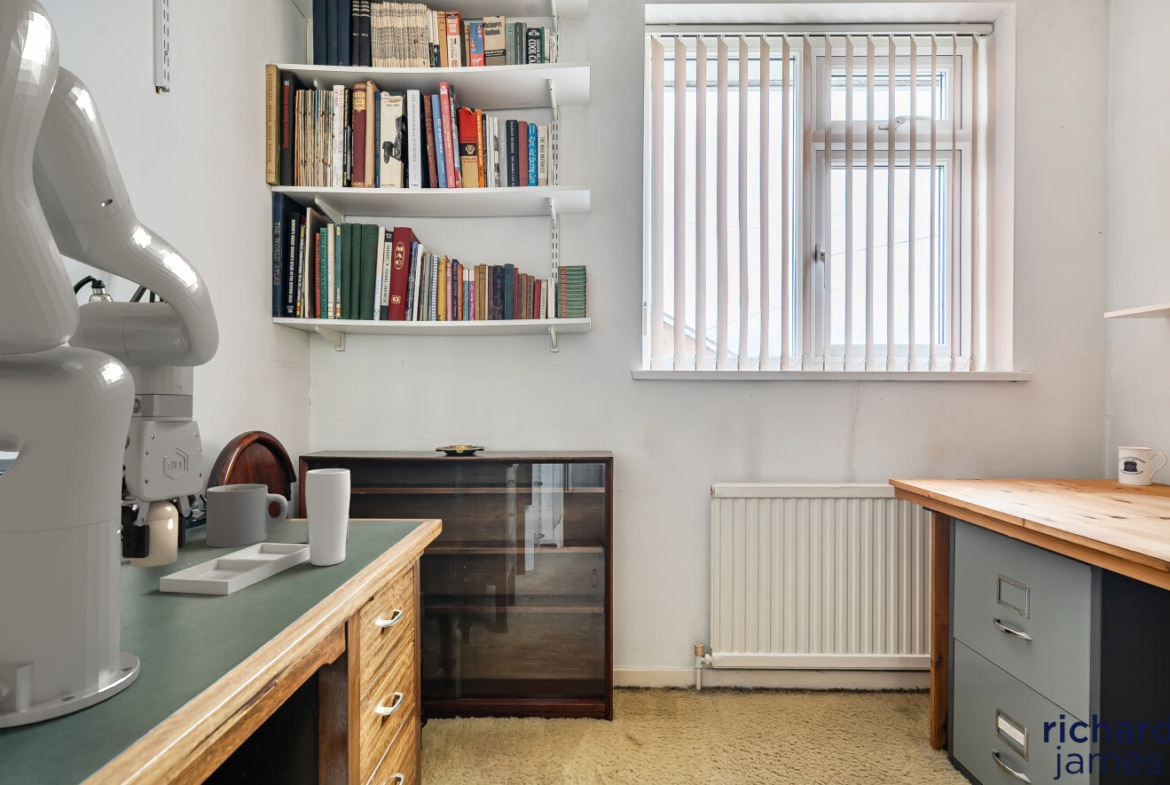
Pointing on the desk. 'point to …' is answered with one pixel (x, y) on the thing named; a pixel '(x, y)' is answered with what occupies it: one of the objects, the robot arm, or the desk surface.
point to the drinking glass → (327, 514)
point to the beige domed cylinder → (160, 535)
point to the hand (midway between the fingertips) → (154, 550)
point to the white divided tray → (236, 569)
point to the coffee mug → (240, 514)
